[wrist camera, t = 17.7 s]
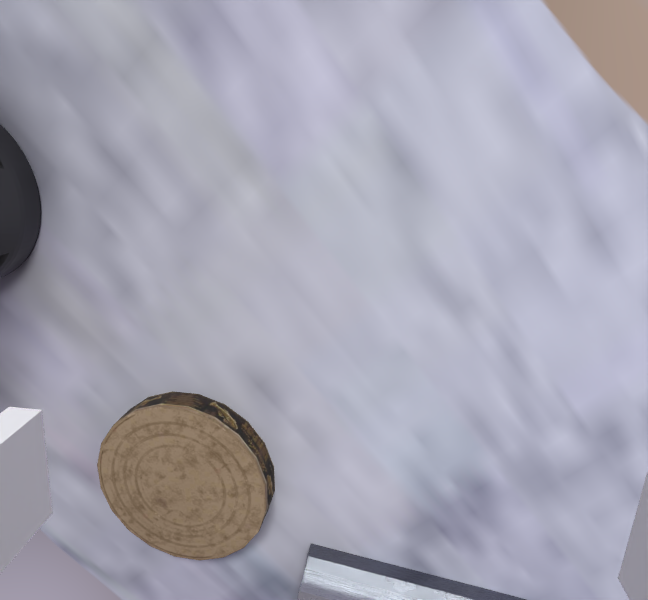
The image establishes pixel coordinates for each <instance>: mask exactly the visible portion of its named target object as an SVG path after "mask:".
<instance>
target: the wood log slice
mask: <svg viewBox="0 0 648 600" xmlns="http://www.w3.org/2000/svg"><path fill="white" fill-rule="evenodd" d="M97 466H98V473H99V479H100V485H101V489H102V491H103V493H104V495H105V497H106V499H107V502H108V504H109V506H110V508H111V510H112V511H113V512H114V514H115V515H116V516H117V517H118V518H119V519H120V521H121V522H122V523H123V524H124V525H125V526H126V528H127V529H128V530H129V531H130V532H132V533H133V534H134V535H136V536H137V537H139V538H140V539H141V540H143V541H144V542H145V543H147V544H148V545H150V546H151V547H154V548H156V549H158V550H161V551H163V552H166V553H168V554H170V555H173V556H176V557H182V558H188V559H195V560H206V559H214V558H222V557H225V556H227V555H230V554H232V553H234V552H236V551H238V550H240V549H242V548H244V547H245V546H246V545H247V544H248V543H249V541H250V540H251V539H252V538H253V537H254V536H255V535H256V534H257V533H258V532H259V529H260V527H261V525H262V523H263V520H264V518H265V516H266V513H267V511H268V508H269V505H270V502H271V500H272V497H273V494H274V491H275V482H274V466H273V463H272V461H271V458H270V456H269V453H268V450H267V448H266V445H265V443H264V442H263V440H262V439H261V438H260V437H259V435H258V434H257V433H256V431H255V430H254V429H253V428H252V426H251V425H250V424H249V422H248V421H246V420H245V419H244V418H242V417H241V416H240V415H238V414H237V413H236V412H234V411H233V410H232V409H230V408H229V407H228V406H226V405H225V404H222V403H220V402H217V401H215V400H212V399H210V398H207V397H205V396H202V395H200V394H192V393H181V392H169V393H164V394H160V395H155V396H151V397H148V398H146V399H145V400H143V401H142V402H140V403H139V404H137V405H136V406H134V407H133V408H131V409H130V410H129V411H128V412H127V413H126V414H125V415H123V416H122V417H121V418H120V419H119V420H118V421H117V422H116V423H115V424H114V425H113V426H112V428H111V429H110V431H109V433H108V434H107V436H106V437H105V439H104V440H103V442H102V443H101V448H100V453H99V458H98V464H97Z"/></svg>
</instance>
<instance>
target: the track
mask: <svg viewBox="0 0 648 600" xmlns="http://www.w3.org/2000/svg"><path fill="white" fill-rule="evenodd" d="M298 600H525V599H522V598H518V597H514V596H510V595H506V594H502V593H499V592H495V591H491V590H487V589H483V588H479V587H476V586H472V585H468V584H464V583H460V582H456V581H453V580H449V579H445V578H441V577H437V576H433V575H429V574H426V573H422V572H418V571H414V570H410V569H406V568H403V567H399V566H395V565H391V564H387V563H383V562H380V561H376V560H372V559H368V558H364V557H360V556H356V555H353V554H349V553H345V552H341V551H337V550H333V549H330V548H326V547H322V546H318V545H314V544H311V545H310V549H309V552H308V556H307V562H306V568H305V572H304V575H303V579H302V582H301V586H300V589H299V594H298Z"/></svg>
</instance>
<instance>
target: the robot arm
mask: <svg viewBox="0 0 648 600" xmlns="http://www.w3.org/2000/svg"><path fill="white" fill-rule="evenodd" d="M39 226H40V199H39V193H38V188H37V184H36V181H35V178H34V175H33V172H32V170H31V167H30V165H29V163H28V161H27V159H26V157H25V155H24V154H23V152H22V150H21V149H20V147H19V146H18V144H17V143H16V141H15V140H14V139H13V138H12V136H11V135H10V134H9V133H8V132H7V131H6V130H5V129H4V128H3V127H2V126H1V125H0V277H2V276H4V275H7V274H9V273H10V272H12V271H14V270H15V269H16V268H18V267H19V266H20V265H21V264H22V263H23V262H24V261H25V260H26V258H27V257H28V256H29V254H30V252H31V251H32V249H33V247H34V244H35V242H36V239H37V236H38V231H39ZM52 513H53V510H52V501H51V491H50V481H49V472H48V462H47V453H46V443H45V434H44V424H43V415H42V410H36V409H27V408H17V407H8V408H7V409H6V410H4V411H3V412H2V413H0V574H1V573H2V572H3V570H4V569H5V568H6V567H7V566H8V565H9V564H10V562H11V561H12V560H13V559H14V558H15V557H16V555H17V554H18V553H19V552H20V551H21V550H22V548H23V547H24V546H25V545H26V543H27V542H28V541H29V540H30V539H31V538H32V536H34V534H35V533H36V532H37V531H38V530H39V528H40V527H41V526H42V525H43V524H44V523H45V521H46V520H47V519H48V518H49V517H50V516H51V514H52ZM618 579H619V581H620V583H621V585H622V587H623V588H624V590H625V592H626V594H627V596H628V598H629V599H630V600H648V472H647V475H646V479H645V483H644V486H643V490H642V493H641V497H640V501H639V504H638V508H637V511H636V515H635V519H634V522H633V526H632V529H631V533H630V537H629V540H628V544H627V547H626V551H625V555H624V558H623V562H622V565H621V569H620V573H619V576H618Z"/></svg>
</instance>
